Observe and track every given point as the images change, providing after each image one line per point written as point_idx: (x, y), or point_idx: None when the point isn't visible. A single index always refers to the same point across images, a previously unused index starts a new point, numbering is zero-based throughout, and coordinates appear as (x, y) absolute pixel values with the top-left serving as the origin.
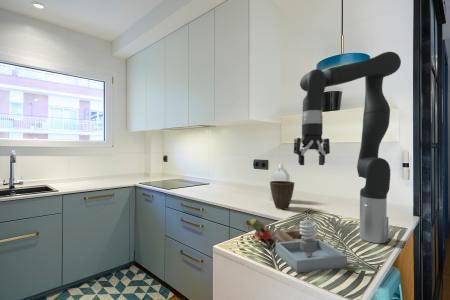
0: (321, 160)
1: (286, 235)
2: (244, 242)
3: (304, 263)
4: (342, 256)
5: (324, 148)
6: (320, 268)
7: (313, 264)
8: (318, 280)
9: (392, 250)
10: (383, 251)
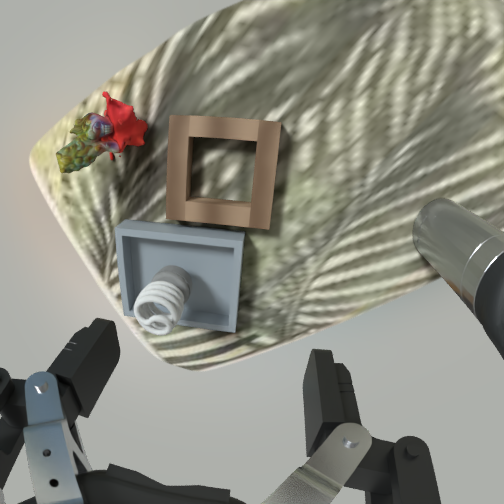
0: (307, 407)
1: (179, 166)
2: None
3: None
4: (224, 330)
5: (404, 501)
6: None
7: None
8: None
9: (409, 291)
10: (386, 290)
